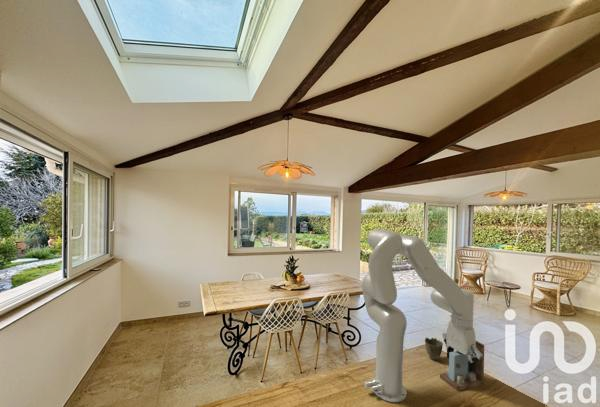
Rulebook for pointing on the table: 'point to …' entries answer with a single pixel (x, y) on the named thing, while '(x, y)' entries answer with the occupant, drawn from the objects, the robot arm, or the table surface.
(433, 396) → the table surface
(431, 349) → the cup
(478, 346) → the cabinet base
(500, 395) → the table surface
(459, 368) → the door
